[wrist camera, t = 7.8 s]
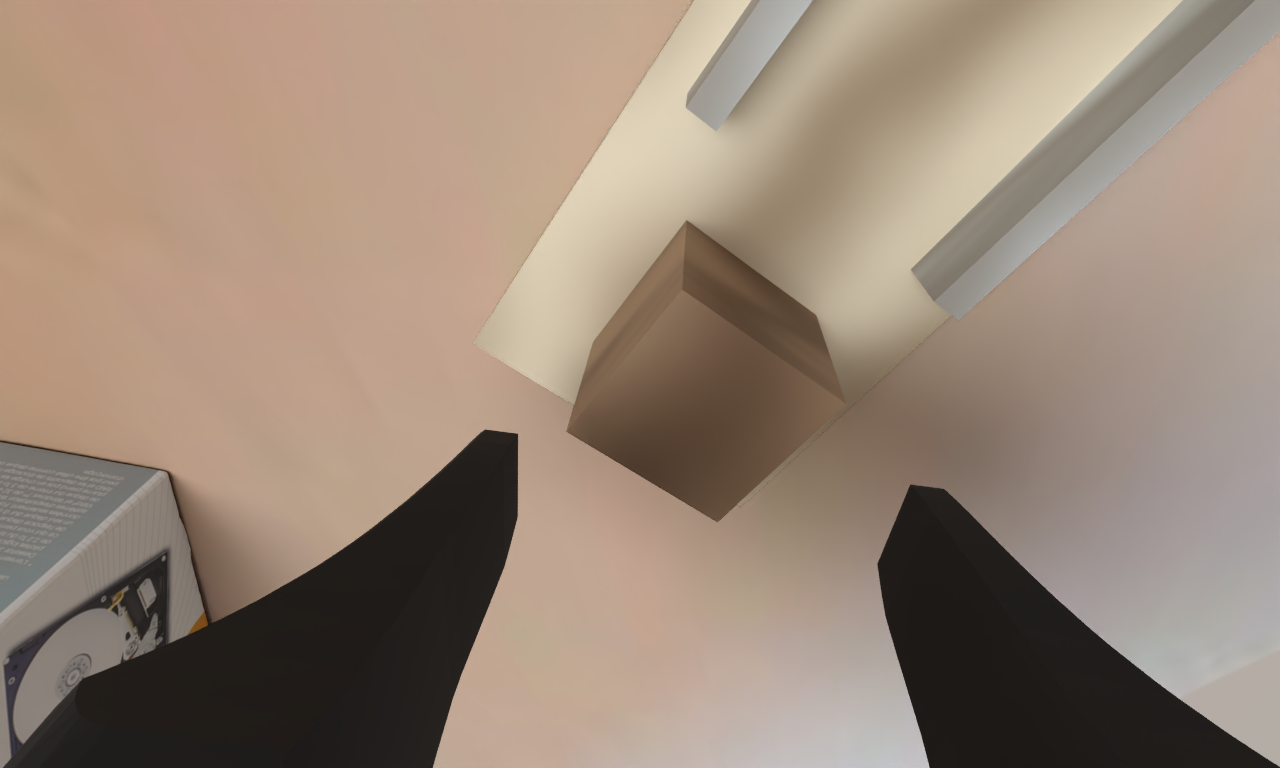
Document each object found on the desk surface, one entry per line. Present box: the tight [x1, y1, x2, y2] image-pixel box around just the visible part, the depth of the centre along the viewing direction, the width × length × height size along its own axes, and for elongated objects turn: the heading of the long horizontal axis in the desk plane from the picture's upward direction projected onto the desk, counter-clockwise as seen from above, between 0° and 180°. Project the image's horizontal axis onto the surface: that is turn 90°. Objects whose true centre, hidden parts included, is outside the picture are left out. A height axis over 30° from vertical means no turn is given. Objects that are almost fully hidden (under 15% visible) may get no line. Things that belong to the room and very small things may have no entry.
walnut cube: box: [566, 220, 846, 522], centre depth 17 cm, size 4×4×4 cm
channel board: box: [473, 0, 1280, 508], centre depth 14 cm, size 10×26×4 cm, turn 145°
